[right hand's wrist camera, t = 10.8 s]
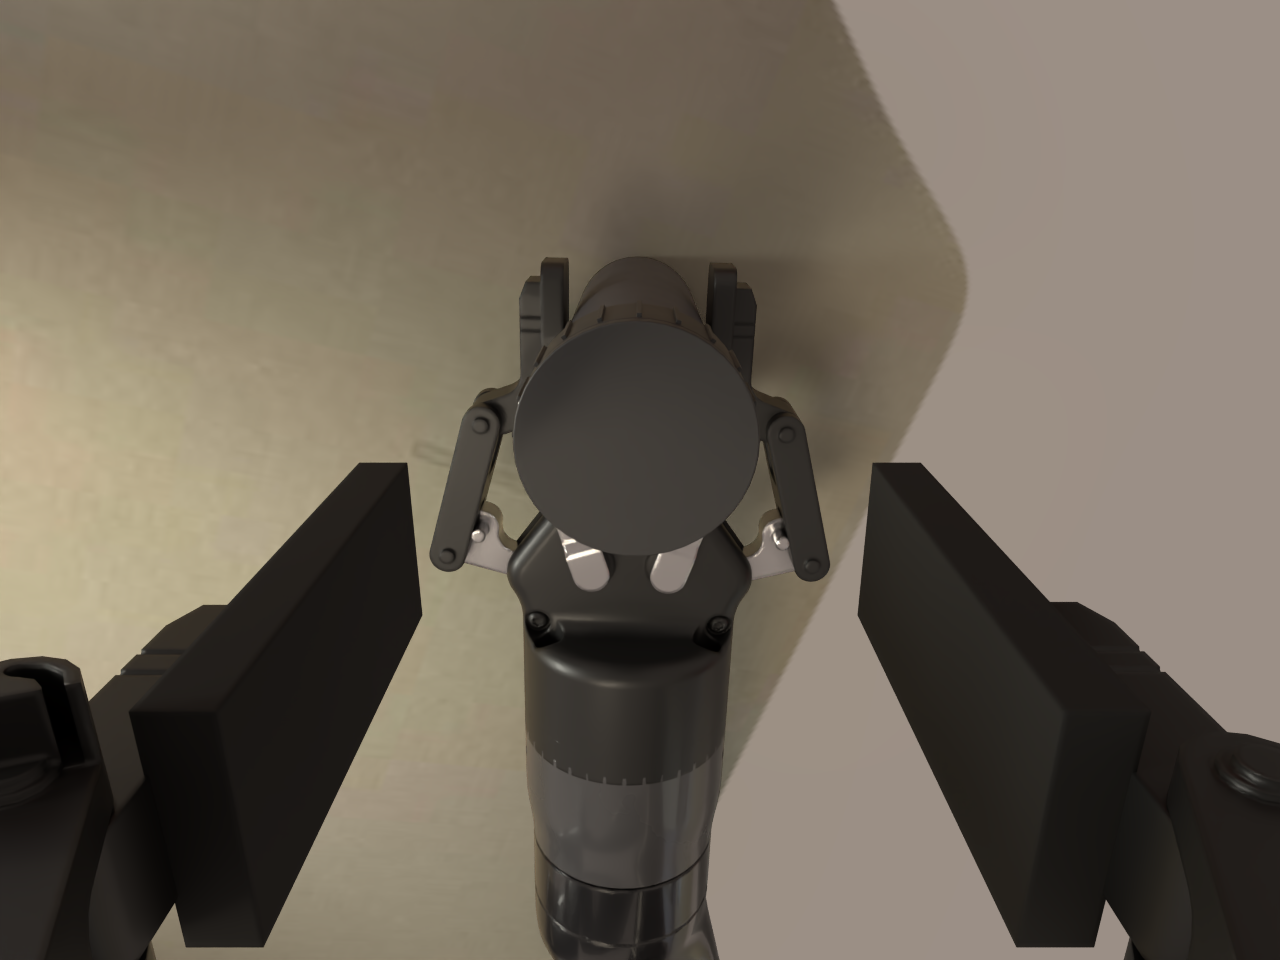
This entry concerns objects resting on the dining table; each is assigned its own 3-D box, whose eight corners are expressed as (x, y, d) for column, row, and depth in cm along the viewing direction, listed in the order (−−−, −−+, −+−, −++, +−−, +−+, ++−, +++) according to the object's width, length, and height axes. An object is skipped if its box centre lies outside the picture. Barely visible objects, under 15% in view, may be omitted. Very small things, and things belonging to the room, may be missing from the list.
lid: (679, 551, 22) (683, 597, 20) (486, 456, 21) (468, 492, 19) (791, 369, 20) (810, 395, 18) (587, 257, 20) (581, 270, 17)
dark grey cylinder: (659, 392, 35) (676, 564, 20) (558, 339, 34) (498, 477, 19) (716, 292, 33) (778, 398, 19) (612, 234, 33) (591, 297, 18)
